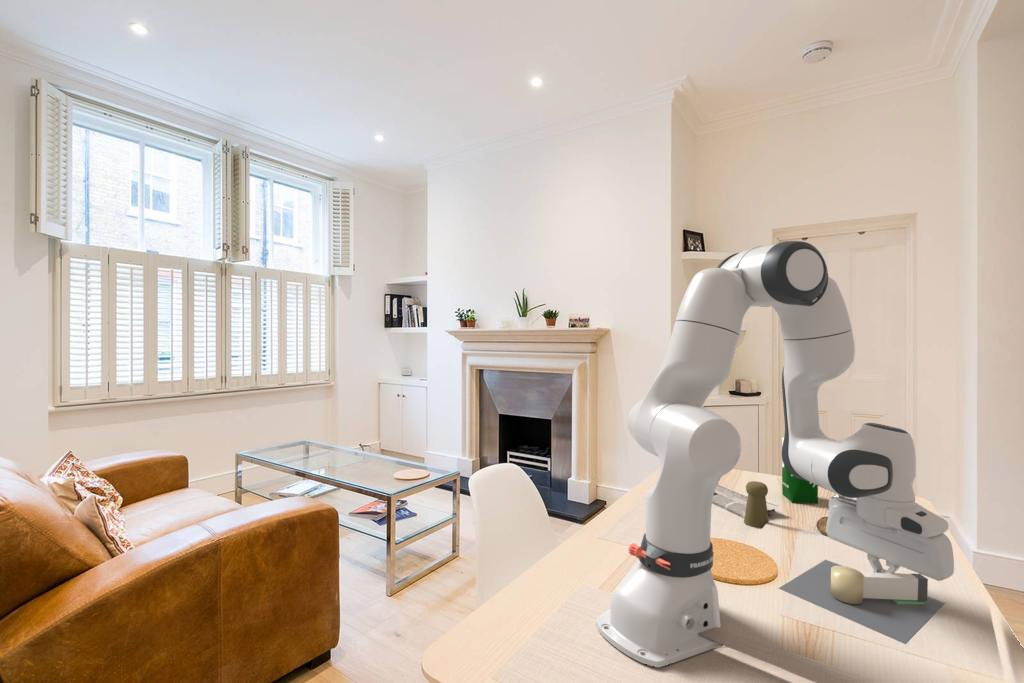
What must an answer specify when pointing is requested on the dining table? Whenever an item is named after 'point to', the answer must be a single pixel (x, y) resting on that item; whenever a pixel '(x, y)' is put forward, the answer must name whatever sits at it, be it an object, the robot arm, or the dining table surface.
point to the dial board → (864, 605)
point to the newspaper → (736, 501)
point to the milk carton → (798, 488)
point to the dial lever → (876, 585)
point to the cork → (756, 505)
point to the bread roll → (822, 525)
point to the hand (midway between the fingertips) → (883, 580)
